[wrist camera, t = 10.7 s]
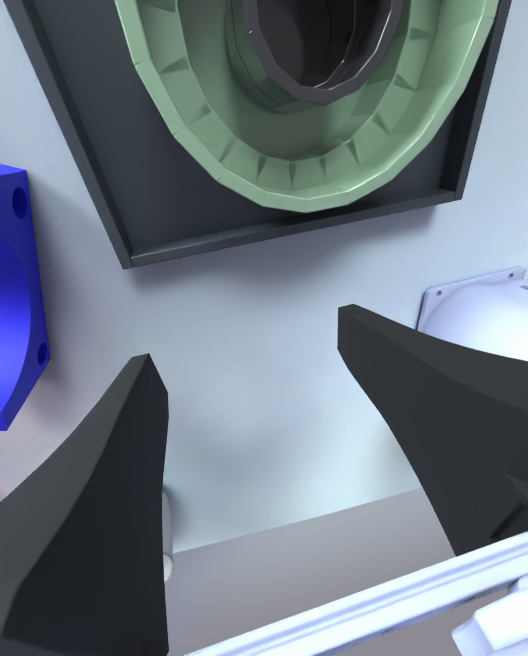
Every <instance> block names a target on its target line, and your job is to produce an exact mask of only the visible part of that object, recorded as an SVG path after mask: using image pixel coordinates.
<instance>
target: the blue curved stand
mask: <svg viewBox="0 0 528 656" xmlns="http://www.w3.org/2000/svg"><path fill="white" fill-rule="evenodd" d="M49 361H50V353H49V345H48V337H47V329H46V322H45V314H44V306H43V298H42V291H41V283H40V275H39V267H38V260H37V252H36V244H35V236H34V229H33V221H32V213H31V205H30V198H29V190H28V182H27V174H26V170H23V169H19V168H14V167H10V166H6V165H2V164H0V431H7V430H8V428H9V426H10V425H11V423H12V421H13V420H14V418H15V416H16V415H17V413H18V412H19V410H20V408H21V407H22V405H23V403H24V402H25V400H26V398H27V397H28V395H29V394H30V392H31V390H32V389H33V387H34V385H35V384H36V382H37V380H38V379H39V377H40V376H41V374H42V372H43V371H44V369H45V367H46V366H47V364H48V362H49Z"/></svg>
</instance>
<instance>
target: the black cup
mask: <svg viewBox="0 0 528 656" xmlns="http://www.w3.org/2000/svg"><path fill="white" fill-rule="evenodd" d="M402 9H403V0H228V4H227V9H226V15H225V31H226V37H227V44H228V51H229V58H230V61H231V65H232V67H233V68H234V70H235V72H236V74H237V76H238V78H239V80H240V82H241V84H242V86H243V88H244V89H245V91H246V92H247V94H248V95H250V96H251V97H252V98H253V99H255V100H256V101H257V102H258V103H260V104H261V105H262V106H263V107H265V108H266V109H268V110H270V111H278V112H285V113H295V112H299V111H303V110H307V109H312V108H316V107H320V106H325V105H329V104H331V103H333V102H335V101H337V100H339V99H342V98H344V97H346V96H348V95H350V94H352V93H355V92H356V91H357V90H359V89H360V88H361V86H362V85H363V84H364V83H365V82H366V80H367V79H368V78H369V77H370V76H371V74H372V73H373V72H374V71H375V70H376V68H377V67H378V66H379V65H380V64H381V62H382V61H383V59H384V58H385V55H386V53H387V50H388V48H389V45H390V43H391V40H392V38H393V35H394V33H395V30H396V27H397V25H398V22H399V20H400V17H401V13H402Z"/></svg>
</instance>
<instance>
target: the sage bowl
mask: <svg viewBox="0 0 528 656" xmlns="http://www.w3.org/2000/svg"><path fill="white" fill-rule="evenodd" d="M498 1H499V0H403V9H402V13H401V17H400V20H399V22H398V25H397V27H396V30H395V33H394V35H393V38H392V40H391V43H390V45H389V48H388V50H387V53H386V55H385V58H384V59H383V61H382V62H381V64H380V65H379V66H378V67H377V68H376V70H375V71H374V72H373V73H372V74H371V76H370V77H369V78H368V79H367V80H366V82H365V83H364V84H363V85H362V86H361V88H360V89H359V90H357V91H356V92H355V93H352V94H350V95H348V96H346V97H344V98H342V99H339V100H337V101H335V102H333V103H331V104H329V105H325V106H320V107H316V108H312V109H307V110H303V111H299V112H295V113H285V112H278V111H270V110H268V109H266V108H265V107H263V106H262V105H261V104H260V103H258V102H257V101H256V100H255V99H253V98H252V97H251V96H250V95H248V94H247V92H246V91H245V89H244V88H243V86H242V84H241V82H240V80H239V78H238V76H237V74H236V72H235V70H234V68H233V67H232V65H231V61H230V58H229V51H228V44H227V37H226V31H225V15H226V9H227V4H228V0H115V4H116V7H117V11H118V14H119V17H120V21H121V24H122V28H123V31H124V34H125V38H126V41H127V45H128V48H129V51H130V55H131V58H132V62H133V64H134V66H135V69H136V71H137V73H138V75H139V76H140V78H141V80H142V82H143V84H144V85H145V87H146V89H147V91H148V92H149V94H150V96H151V98H152V100H153V101H154V103H155V105H156V107H157V109H158V110H159V112H160V114H161V116H162V118H163V119H164V121H165V123H166V125H167V126H168V128H169V130H170V132H171V134H172V135H173V136H174V138H175V139H176V140H177V141H178V142H179V143H180V144H181V145H182V146H183V147H184V148H185V149H186V151H187V152H188V153H189V154H190V155H191V156H192V157H193V158H194V159H195V160H196V161H197V162H198V163H199V164H200V165H201V166H202V167H203V168H204V169H205V170H206V171H207V172H208V173H209V174H210V175H211V176H212V177H213V178H214V180H215V181H217V182H218V183H220V184H222V185H223V186H225V187H227V188H229V189H231V190H233V191H234V192H236V193H238V194H240V195H242V196H244V197H245V198H247V199H249V200H251V201H253V202H255V203H256V204H258V205H260V206H261V205H262V206H263V207H269V208H276V209H282V210H289V211H295V212H302V213H309V212H314V211H319V210H324V209H329V208H334V207H339V206H345V205H348V204H350V203H352V202H354V201H356V200H358V199H359V198H361V197H363V196H365V195H367V194H368V193H370V192H372V191H374V190H376V189H377V188H379V187H381V186H383V185H384V184H386V183H388V182H389V181H391V180H392V179H393V178H394V177H395V176H396V175H397V174H398V173H399V172H400V171H401V170H402V169H403V168H404V167H405V166H406V165H407V164H409V163H410V162H411V161H412V160H413V159H414V158H415V157H416V156H417V155H418V154H419V153H420V152H421V151H422V150H423V149H424V148H425V147H426V146H427V145H428V143H430V142H431V140H432V139H433V137H434V136H435V134H436V133H437V131H438V130H439V128H440V127H441V125H442V124H443V122H444V121H445V119H446V118H447V116H448V115H449V113H450V111H451V110H452V108H453V107H454V105H455V104H456V102H457V101H458V99H459V98H460V96H461V95H462V93H463V92H464V90H465V88H466V86H467V83H468V81H469V79H470V76H471V74H472V71H473V69H474V67H475V64H476V62H477V60H478V57H479V55H480V52H481V50H482V48H483V45H484V43H485V41H486V38H487V36H488V33H489V31H490V29H491V26H492V24H493V22H494V17H495V14H496V10H497V6H498Z"/></svg>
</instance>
